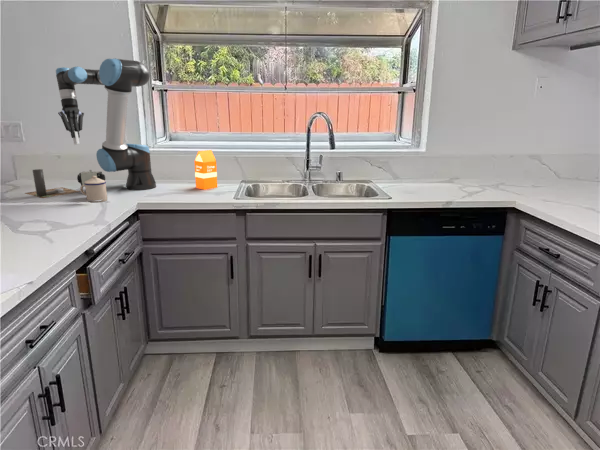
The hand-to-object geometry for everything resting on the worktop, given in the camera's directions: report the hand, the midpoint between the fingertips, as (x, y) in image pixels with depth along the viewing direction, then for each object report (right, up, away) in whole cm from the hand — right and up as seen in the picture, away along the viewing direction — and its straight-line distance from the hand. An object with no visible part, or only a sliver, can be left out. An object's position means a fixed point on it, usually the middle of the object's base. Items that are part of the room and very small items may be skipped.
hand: (76, 144), depth 221 cm
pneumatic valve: (+17, -28, -15) cm, 36 cm away
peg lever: (-1, -28, -22) cm, 36 cm away
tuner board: (-2, -29, -18) cm, 34 cm away
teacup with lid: (+24, -32, -28) cm, 49 cm away
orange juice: (+69, -23, +4) cm, 73 cm away
